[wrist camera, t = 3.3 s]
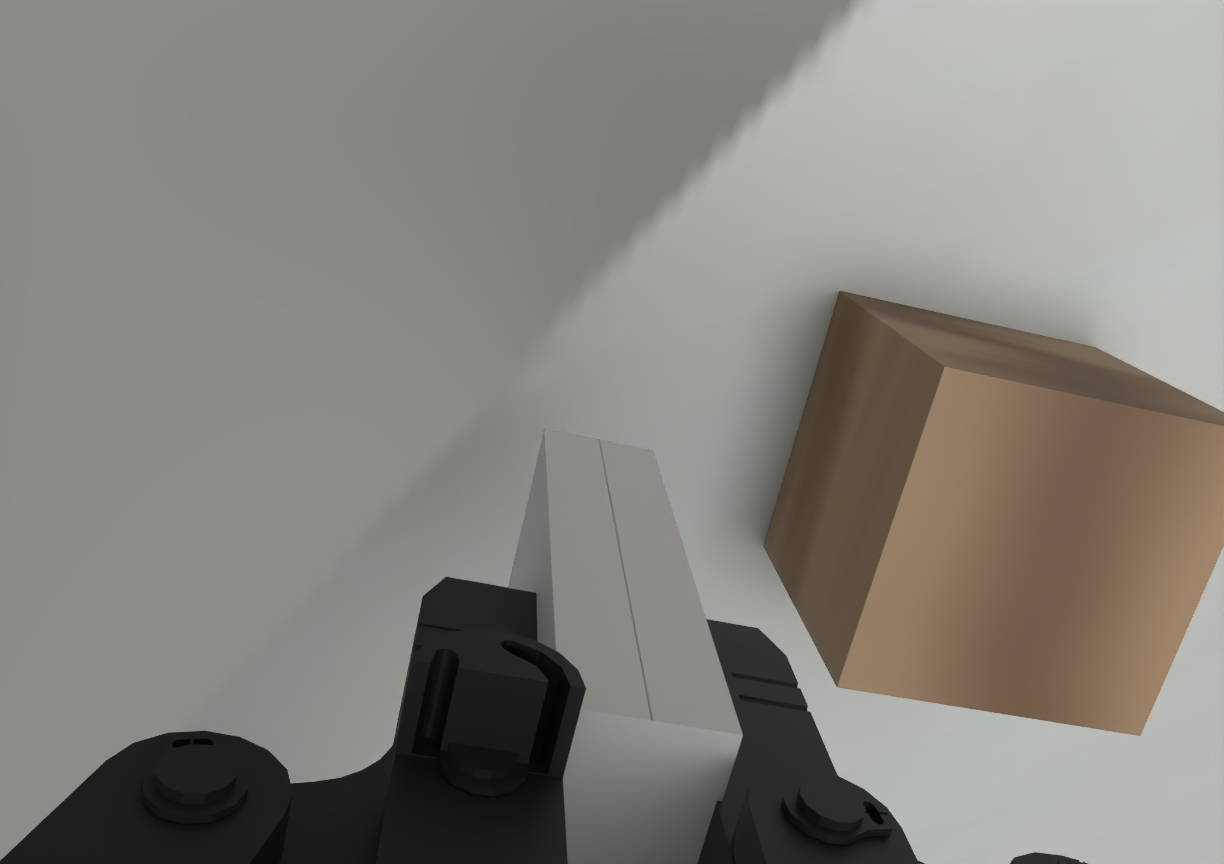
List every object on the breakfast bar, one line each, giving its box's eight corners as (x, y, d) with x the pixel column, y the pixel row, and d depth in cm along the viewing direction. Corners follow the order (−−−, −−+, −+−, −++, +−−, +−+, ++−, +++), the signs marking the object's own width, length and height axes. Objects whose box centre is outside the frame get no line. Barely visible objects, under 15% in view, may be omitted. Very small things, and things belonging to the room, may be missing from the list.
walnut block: (762, 544, 25) (837, 687, 20) (838, 290, 23) (945, 366, 18) (1002, 587, 26) (1140, 736, 21) (1093, 346, 24) (1271, 436, 19)
